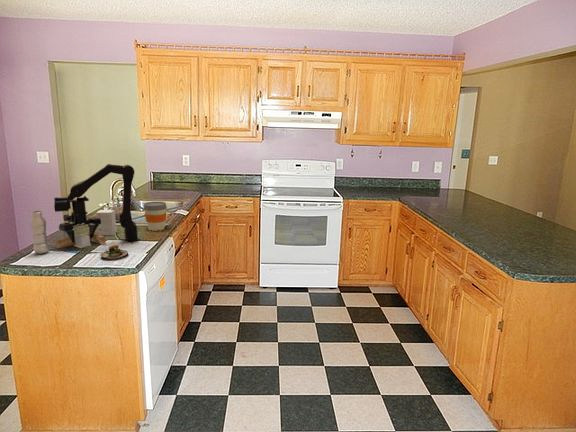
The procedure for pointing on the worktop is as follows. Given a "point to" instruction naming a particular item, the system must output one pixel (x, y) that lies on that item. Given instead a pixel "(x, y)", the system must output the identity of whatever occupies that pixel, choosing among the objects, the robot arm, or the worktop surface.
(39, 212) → the plastic bottle
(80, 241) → the block
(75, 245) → the pad
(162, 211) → the reusable coffee cup
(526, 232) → the worktop surface
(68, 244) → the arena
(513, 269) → the worktop surface
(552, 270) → the worktop surface
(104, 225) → the small box
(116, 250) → the burger
